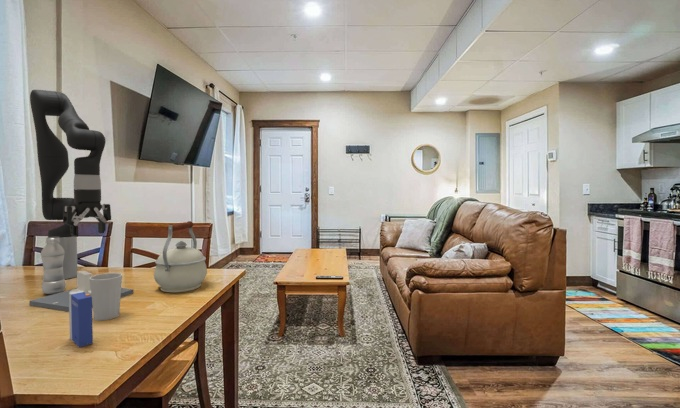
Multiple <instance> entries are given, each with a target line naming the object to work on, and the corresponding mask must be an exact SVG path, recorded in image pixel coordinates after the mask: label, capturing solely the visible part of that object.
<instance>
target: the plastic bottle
mask: <svg viewBox="0 0 680 408" xmlns="http://www.w3.org/2000/svg"><path fill="white" fill-rule="evenodd" d="M59 242H60V241H59V237H48V236H47V237H45V244H46V245H45V246H44V247H43V248H42V249H41V252H40V256H41V260H42V261H41V262H42V268H43V269H42V270H43V271H42V272H43V276H42V282H41V283H42V284H41V291H42V293H43V294H44V295H53V294H57V293H60V292H64V291H66V285H67V284H66V279H64V274H63V260H64V253H65V251H64V249H63V248H62V246H61V245H60V244H59Z"/></svg>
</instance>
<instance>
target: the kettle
mask: <svg viewBox="0 0 680 408" xmlns="http://www.w3.org/2000/svg"><path fill="white" fill-rule="evenodd" d="M193 226H194V222H193V221H191V220H190V221H189V220H188V221H184V222H179V223H175V224H169V225H167V227H166V228H167V231H168V232H167V233H168V234H167V238H166V239H165V240H166V241H165V243H164V246H163V248H162V252H161V253H160V254H159V255H158V257H157V259H155V260H154V263H155V268H154V271H153V279H154V281H155V282H156V285H159V286H160V290H161V291H162V292H164V293H173V294H175V293H177V294H178V293H184V292H190V291H193V290H197V289H199V288H200V287H201V286H202V282H203V281H204V280H205V279H206V277H207V274H208V267H207V264H206V259H207V257H206V256H204V254H203V253H202V252H201V250H199V249H198V248H197V247H198V245H197V244H198V243H197V238H196V236H195V234H194V233H195V232H194V231H193ZM185 229H188V232H189V235H190V237H191V239H192V245H193V246H192V247H189V246H187V243H186V241H185V242H184V241H183V240H180V241H178V242H176V244H175V247H173V248H169V245H170V243H171V240H172V237H173V233H174V232H175V231H182V230H185ZM168 248H169V249H168Z"/></svg>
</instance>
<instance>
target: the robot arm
mask: <svg viewBox="0 0 680 408" xmlns="http://www.w3.org/2000/svg"><path fill="white" fill-rule="evenodd" d="M29 102H30V109H31V113H32V115H31V116H32V118H33V119H32V120H33V124H34V129H35V138H36V151H37V161H38V168H39V175H40V176H39V177H40V185H41V211H42V216H43V218H44V219H45V220H46V221H62V225H60V226H58V227H55V228H51V229H49V230H48V231H47V237H59V241H60V242H59V244H60V245H61V246H62V248H63V249H64V251H65V253H64V260H63V274H64V279H65V280H67V279H73V278H77V271H78V239H77V238H78V237H79V225H78V224H79V223H80V222H81V221H82V220H83V219H87V218H94V219H96V220H97V225H98V226H97V229H98V231H97V232H98V234H104V233H105V232H106V228H107V227H106V223H107V222H108V221H111V220H112V212H111V211H112V209H111V204H110V203H103V204H102V203H101V201H102V181H101V173H100V172H101V167H100V166H101V165H100V164H101V160H102V155H103V153H104V150H105V147H106V141H107V140H106V137H105V135H104V134H103V133H102V131H100V130H92V129H90V128H89V126H88V124H87V123H86V122H85V121H84V120H83V119H82V118H81V117H80V116H79V114H78V112H77V111H76V109H75V107H74V106H73V103H72V102H71V100H70V98H69V97H68V96H67V95H66V93H64V92H60V91H55V90H46V89H45V90H44V89H32V90H31V91H30V94H29ZM47 116H48V117H58V118H57V119H58V120H57V123H58V124H57V125H59V127H60V129H61V130H62V132H64V133H65V135H66V142H67V145H68V147H70V148H71V149H74V150H78V151H90V153H89V154H88V155H86V156H80V157H75V159H74V161H73V169H74V173H73V174H74V176H73V197H54V192H55V188H56V187H57V186H58V183H59V182H60V181H61V179H62V178H63V177H64V175H65V174H66V173H67V171H68V170H69V167H70V162H69V159H70V158H69V152H68V148H67V147H66V146H65V144H64V143H63V142H62V141H61V139H59V138H58V137H57V135H55V133H54V132H53V131H52V129H51V128H50V126H49V123H48V122H47V121H48V120H47ZM101 210H102V213H101Z"/></svg>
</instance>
